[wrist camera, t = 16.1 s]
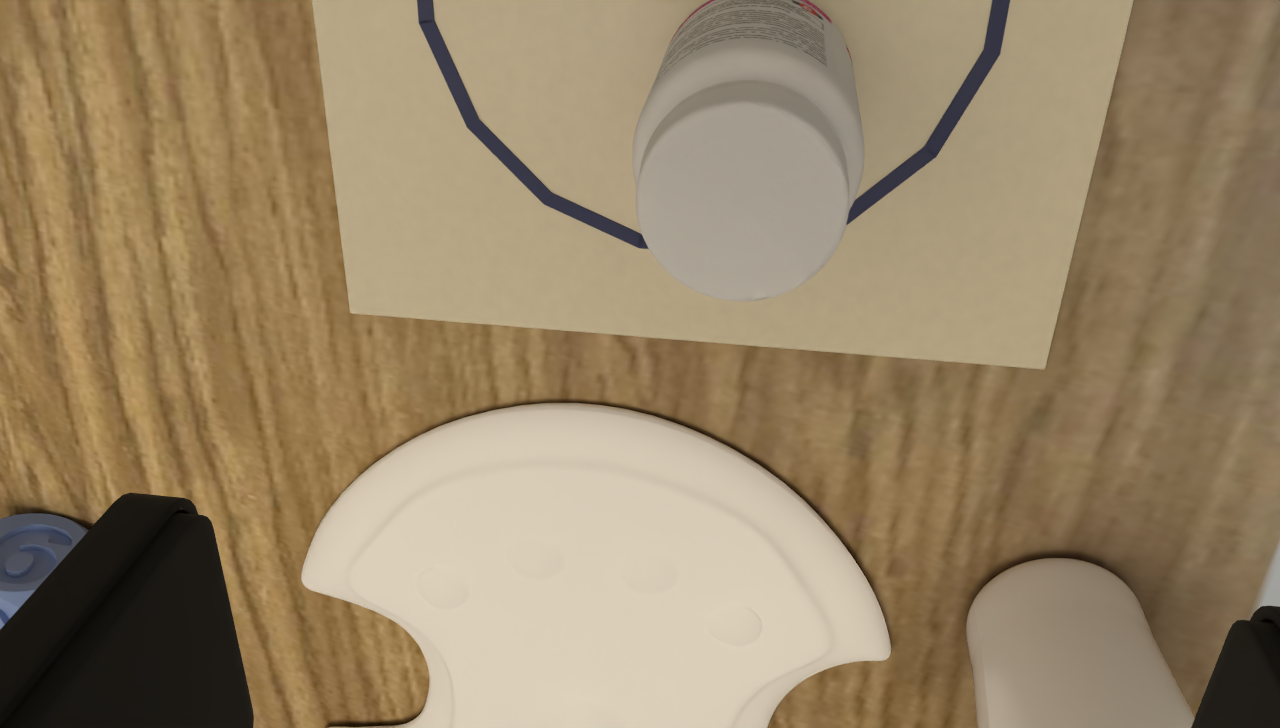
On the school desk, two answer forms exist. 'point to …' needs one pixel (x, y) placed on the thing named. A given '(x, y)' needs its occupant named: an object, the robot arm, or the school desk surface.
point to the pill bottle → (749, 148)
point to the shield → (595, 573)
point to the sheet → (606, 191)
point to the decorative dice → (31, 555)
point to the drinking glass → (1067, 652)
